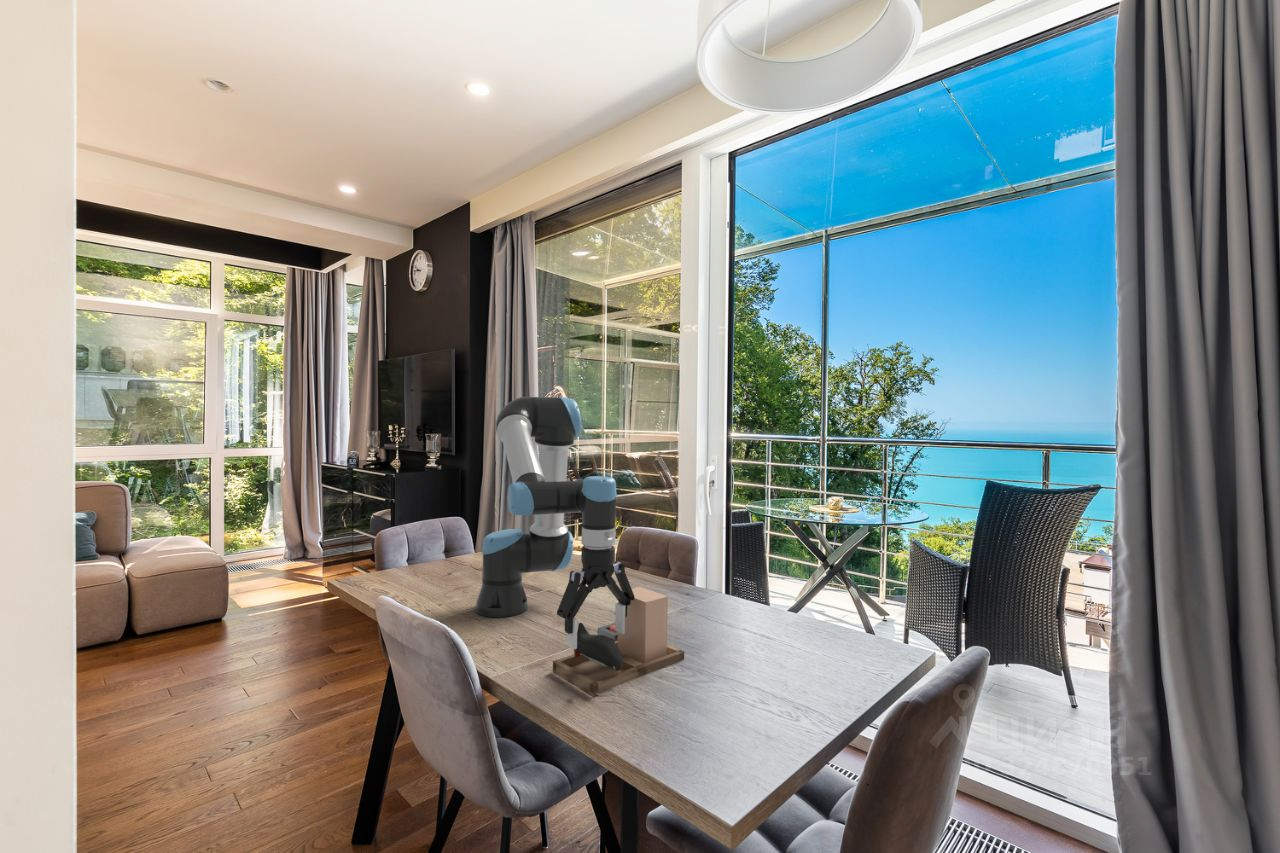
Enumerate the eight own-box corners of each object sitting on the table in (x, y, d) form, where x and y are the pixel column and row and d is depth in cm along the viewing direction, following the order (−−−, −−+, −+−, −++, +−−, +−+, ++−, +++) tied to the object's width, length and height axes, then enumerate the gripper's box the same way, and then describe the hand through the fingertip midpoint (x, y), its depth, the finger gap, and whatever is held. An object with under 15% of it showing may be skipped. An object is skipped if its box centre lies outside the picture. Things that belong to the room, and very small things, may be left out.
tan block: (617, 653, 141) (618, 592, 140) (639, 646, 145) (639, 586, 145) (644, 667, 133) (646, 602, 133) (666, 659, 138) (667, 596, 138)
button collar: (597, 640, 151) (597, 627, 151) (618, 633, 156) (618, 621, 156) (614, 648, 146) (614, 635, 146) (635, 641, 150) (635, 629, 150)
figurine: (567, 670, 132) (607, 681, 121) (563, 625, 134) (602, 632, 122) (593, 662, 137) (634, 671, 126) (589, 618, 138) (629, 624, 127)
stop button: (606, 638, 151) (606, 627, 151) (617, 635, 153) (617, 624, 153) (615, 642, 148) (615, 631, 148) (626, 639, 151) (626, 627, 151)
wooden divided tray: (552, 672, 132) (552, 661, 132) (641, 643, 149) (641, 633, 149) (593, 697, 120) (593, 685, 120) (684, 662, 138) (684, 651, 138)
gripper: (561, 557, 119) (559, 659, 119) (650, 541, 135) (648, 631, 136) (541, 550, 124) (540, 648, 125) (629, 535, 141) (628, 621, 141)
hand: (596, 639), depth 130 cm, fingers open, 13 cm apart
